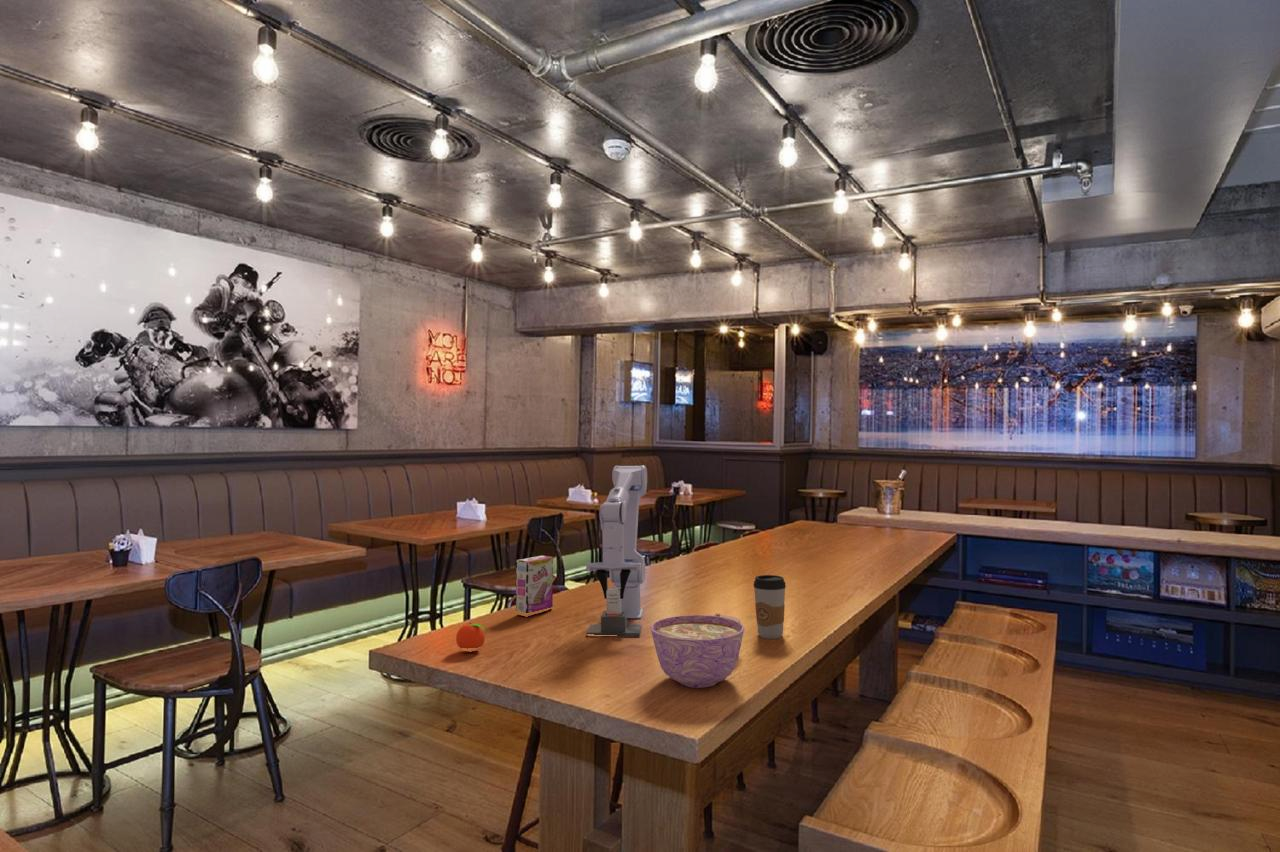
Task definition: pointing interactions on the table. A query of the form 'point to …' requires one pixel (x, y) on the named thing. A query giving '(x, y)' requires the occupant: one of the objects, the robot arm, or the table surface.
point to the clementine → (470, 636)
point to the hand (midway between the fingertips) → (614, 597)
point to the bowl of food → (697, 648)
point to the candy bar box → (534, 584)
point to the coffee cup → (769, 605)
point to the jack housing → (615, 626)
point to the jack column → (614, 601)
